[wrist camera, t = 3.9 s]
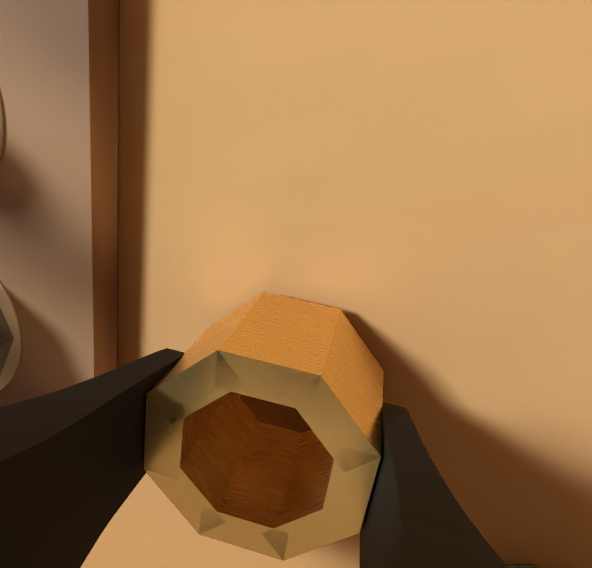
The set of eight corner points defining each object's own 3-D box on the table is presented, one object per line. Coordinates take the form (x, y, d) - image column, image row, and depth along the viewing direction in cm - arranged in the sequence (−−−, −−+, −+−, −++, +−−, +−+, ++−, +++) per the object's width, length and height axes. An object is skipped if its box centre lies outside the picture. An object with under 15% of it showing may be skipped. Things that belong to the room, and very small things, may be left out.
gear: (357, 471, 13) (346, 579, 10) (199, 428, 14) (142, 516, 11) (396, 321, 12) (398, 394, 8) (212, 280, 12) (148, 332, 9)
